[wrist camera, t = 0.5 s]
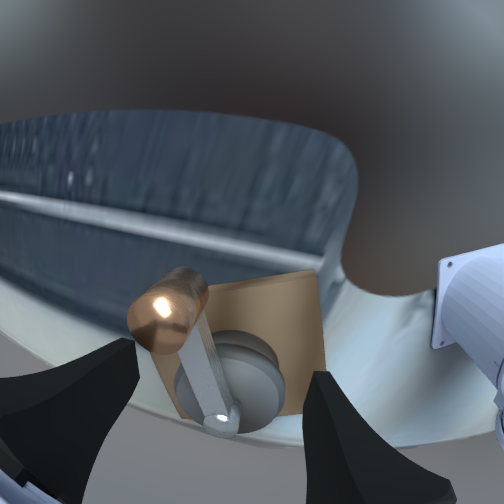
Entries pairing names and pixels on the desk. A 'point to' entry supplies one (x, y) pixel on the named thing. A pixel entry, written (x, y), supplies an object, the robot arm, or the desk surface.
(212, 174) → the desk surface
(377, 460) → the robot arm
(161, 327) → the hammer
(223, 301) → the wooden base with cylinder
